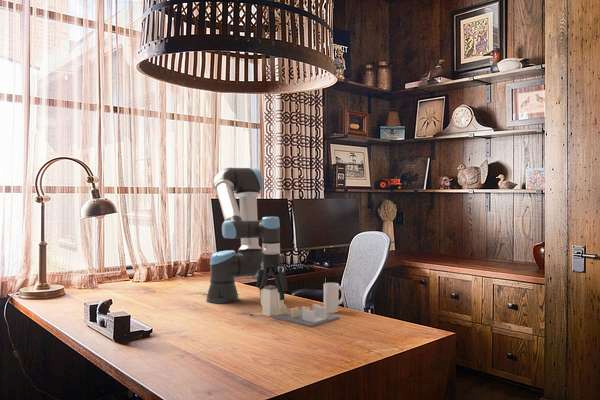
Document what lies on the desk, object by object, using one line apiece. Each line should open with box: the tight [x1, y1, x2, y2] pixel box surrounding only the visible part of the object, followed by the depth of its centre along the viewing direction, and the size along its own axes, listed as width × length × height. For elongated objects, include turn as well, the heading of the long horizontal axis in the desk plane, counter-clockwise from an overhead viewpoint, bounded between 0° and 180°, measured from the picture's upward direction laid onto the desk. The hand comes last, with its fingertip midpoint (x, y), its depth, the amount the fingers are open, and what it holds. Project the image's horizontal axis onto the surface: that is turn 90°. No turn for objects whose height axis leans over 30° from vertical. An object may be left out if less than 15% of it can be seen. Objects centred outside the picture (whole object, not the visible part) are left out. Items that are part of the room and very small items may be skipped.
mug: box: [323, 282, 345, 314], centre depth 217 cm, size 10×7×12 cm, turn 116°
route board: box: [271, 303, 340, 328], centre depth 204 cm, size 21×18×5 cm
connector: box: [261, 284, 279, 317], centre depth 210 cm, size 4×4×12 cm
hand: (272, 306), depth 209 cm, fingers open, 9 cm apart
